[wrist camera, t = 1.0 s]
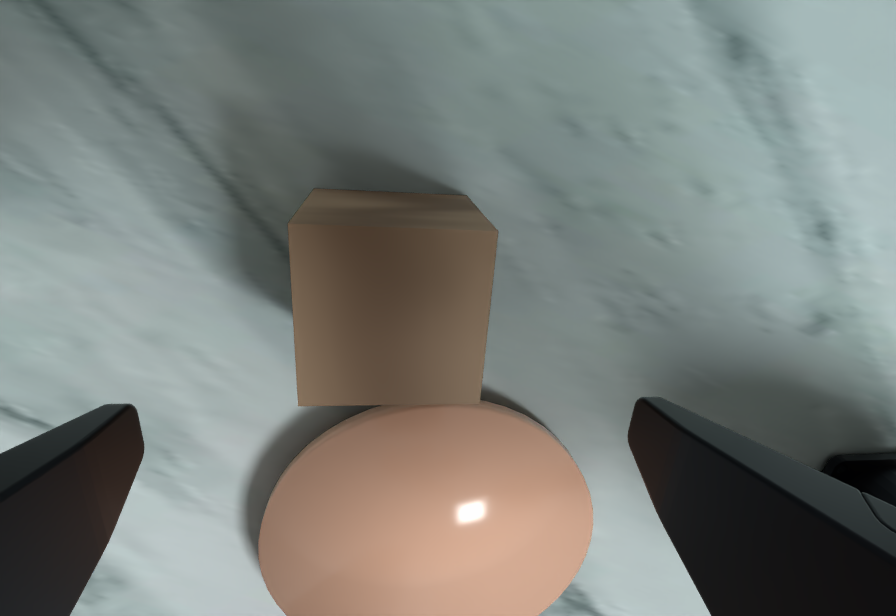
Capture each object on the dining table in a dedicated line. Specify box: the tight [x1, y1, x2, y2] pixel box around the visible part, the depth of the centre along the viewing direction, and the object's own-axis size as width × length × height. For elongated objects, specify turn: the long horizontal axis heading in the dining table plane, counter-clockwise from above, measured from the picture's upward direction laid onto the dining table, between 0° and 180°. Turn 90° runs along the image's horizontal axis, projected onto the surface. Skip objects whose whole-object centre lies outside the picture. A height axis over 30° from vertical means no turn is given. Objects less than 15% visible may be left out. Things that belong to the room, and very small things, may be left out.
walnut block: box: [288, 188, 498, 406], centre depth 15 cm, size 5×5×5 cm
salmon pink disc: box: [258, 400, 593, 616], centre depth 21 cm, size 14×14×1 cm
